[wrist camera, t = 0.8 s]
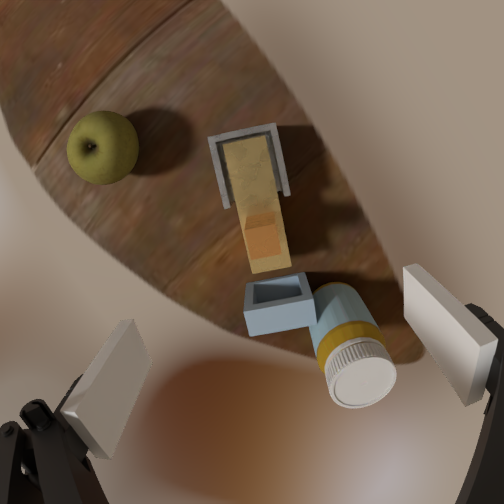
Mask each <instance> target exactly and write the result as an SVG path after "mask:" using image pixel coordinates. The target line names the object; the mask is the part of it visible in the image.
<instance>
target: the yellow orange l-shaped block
mask: <svg viewBox="0 0 504 504" xmlns="http://www.w3.org/2000/svg"><path fill="white" fill-rule="evenodd" d="M223 149H224V154H225V158H226V162H227V167H228V171H229V175H230V180H231V184H232V188H233V193H234V197H235V201H236V206H237V210H238V214H239V219H240V223H241V227H242V232H243V236H244V240H245V245H246V249H247V253H248V257H249V262H250V266H251V270H252V274H255V273H260V272H265V271H270V270H275V269H280V268H286V267H291V260H290V255H289V250H288V244H287V239H286V234H285V229H284V224H283V219H282V214H281V209H280V204H279V199H278V194H277V189H276V184H275V179H274V175H273V170H272V165H271V161H270V156H269V151H268V147H267V142H266V138H265V135H264V136H259V137H255V138H250V139H245V140H241V141H236V142H232V143H227V144H223Z"/></svg>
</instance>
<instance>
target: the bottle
mask: <svg viewBox="0 0 504 504" xmlns="http://www.w3.org/2000/svg"><path fill="white" fill-rule="evenodd" d="M312 296H313V299H314V306H315V313H316V319H317V324H315V325H310V326H309V329H310V333H311V337H312V341H313V346H314V350H315V354H316V358H317V361H318V365H319V367H320V369H321V371H322V372H323V373H324V374H325V375H326V381H327V385H328V389H329V392H330V396H331V398H332V399H333V400H334V401H335V402H336V403H337V404H338V405H340V406H342V407H346V408H362V407H366V406H369V405H371V404H374V403H376V402H377V401H379V400H381V399H382V398H383V397H384V396H386V394H388V393H389V391H390V390H391V389H392V387H393V385H394V383H395V381H396V368H395V366H394V363H393V362H392V360H391V358H390V356H389V354H388V353H387V351H386V344H385V339H384V337H383V335H382V333H381V331H380V329H379V327H378V326H377V324H376V322H375V321H374V319H373V317H372V316H371V314H370V312H369V311H368V309H367V307H366V306H365V304H364V302H363V301H362V299H361V297H360V296H359V294H358V293H357V291H356V290H355V289H354V288H353V287H351V286H350V285H348V284H346V283H342V282H331V283H327V284H325V285H322V286H320V287H319V288H318V289H316V290H315V291H314V292H313V293H312Z"/></svg>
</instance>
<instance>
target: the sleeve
mask: <svg viewBox="0 0 504 504" xmlns="http://www.w3.org/2000/svg"><path fill="white" fill-rule="evenodd" d="M264 135H265V138H266V142H267V147H268V151H269V156H270V161H271V165H272V170H273V175H274V179H275V184H276V189H277V191H282V192H283V194H284V196H290V195H291V194H290V189H289V184H288V179H287V174H286V169H285V164H284V159H283V155H282V150H281V145H280V141H279V136H278V131H277V127H276V123H270V124H265V125H260V126H255V127H251V128H246V129H241V130H237V131H232V132H228V133H224V134H220V135H215V136H211V137H208V142H209V146H210V150H211V155H212V159H213V163H214V168H215V172H216V176H217V180H218V185H219V189H220V193H221V197H222V201H223V206H224V209H227V208H231V206H232V204H233V201H234V200H235V197H234V193H233V188H232V184H231V180H230V175H229V171H228V167H227V162H226V158H225V154H224V149H223V144H227V143H232V142H236V141H241V140H245V139H250V138H255V137H259V136H264Z"/></svg>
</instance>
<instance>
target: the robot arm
mask: <svg viewBox="0 0 504 504" xmlns="http://www.w3.org/2000/svg"><path fill="white" fill-rule="evenodd" d="M403 278H404V318H405V319H406V321H407V322H408V323H409V325H410V326H411V327H412V329H413V330H414V332H415V333H416V334H417V336H418V337H419V339H420V340H421V341H422V343H423V344H424V346H425V347H426V348H427V350H428V351H429V353H430V354H431V356H432V357H433V359H434V360H435V362H436V363H437V364H438V366H439V367H440V368H441V370H442V372H443V373H444V375H445V376H446V378H447V379H448V381H449V382H450V384H451V385H452V387H453V388H454V390H455V392H456V393H457V395H458V396H459V398H460V399H461V401H462V403H463V404H464V406H465V407H466V406H468V405H470V404H473V403H475V402H477V401H479V400H481V399H482V397H483V394H484V391H485V388H486V389H487V390H488V391H489V393H490V397H489V401H488V403H487V406H486V409H485V411H484V414H485V417H484V421H483V425H482V429H481V432H480V436H479V439H478V443H477V446H476V449H475V453H474V456H473V458H472V461H471V465H470V467H469V470H468V473H467V476H466V478H465V481H464V483H463V486H462V488H461V491H460V493H459V496H458V498H457V501H456V503H455V504H504V329H503V328H502V327H501V326H500V325H499V324H498V323H497V322H496V321H494V319H493V318H492V317H491V316H488V314H487V313H486V312H485V311H484V310H483V309H482V308H481V307H478V306H476V305H474V304H472V303H471V304H467V305H463V304H462V303H461V302H460V301H459V300H458V299H457V298H456V297H454V296H453V295H452V294H451V293H450V292H449V291H448V290H447V289H446V288H445V287H444V286H442V285H441V284H440V283H439V282H438V281H437V280H436V279H435V278H433V277H432V276H431V275H430V274H429V273H428V272H427V271H425V270H424V269H423V268H422V267H421V266H420V265H418V264H413V265H408V266H404V267H403ZM151 365H152V360H151V358H150V356H149V354H148V352H147V349H146V347H145V345H144V343H143V340H142V338H141V336H140V334H139V331H138V329H137V327H136V324H135V322H134V319H130V320H122V321H120V322H119V324H118V325H117V327H116V328H115V330H114V331H113V332H112V333H111V335H110V336H109V338H108V339H107V341H106V342H105V344H104V345H103V347H102V348H101V349H100V351H99V352H98V354H97V355H96V357H95V358H94V359H93V361H92V362H91V364H90V365H89V367H88V368H87V370H86V371H85V373H84V374H82V375H81V376H80V377H78V378H77V380H75V381H74V383H73V384H72V386H71V387H70V390H68V392H67V393H66V396H64V398H63V399H62V401H61V403H60V404H59V405H58V407H57V408H56V410H55V412H54V413H52V411H51V410H50V408H49V407H48V406H47V404H46V403H45V401H44V400H41V399H36V400H32V401H30V402H29V403H27V404H26V405H25V406H24V407H23V408H22V410H21V412H20V417H21V418H22V420H23V421H24V422H25V424H26V425H27V426H28V428H29V429H23V430H22V428H21V427H20V426H19V424H18V423H17V422H15V421H10V422H7V423H5V424H3V425H2V426H1V428H0V504H109V502H108V501H107V498H106V496H105V494H104V492H103V490H102V488H101V485H100V483H99V481H98V478H97V476H96V474H95V471H94V469H93V467H92V465H91V462H90V460H89V459H88V457H87V456H86V454H87V451H88V449H89V450H90V451H91V452H92V453H93V455H94V456H95V457H96V458H101V459H110V460H111V459H112V457H113V454H114V451H115V449H116V447H117V444H118V442H119V440H120V437H121V434H122V432H123V430H124V427H125V425H126V423H127V420H128V418H129V416H130V413H131V411H132V409H133V406H134V404H135V402H136V399H137V397H138V395H139V392H140V390H141V388H142V386H143V383H144V381H145V379H146V376H147V374H148V372H149V370H150V368H151ZM21 466H22V467H23V468H24V469H25V474H23V473H22V471H21Z"/></svg>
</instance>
